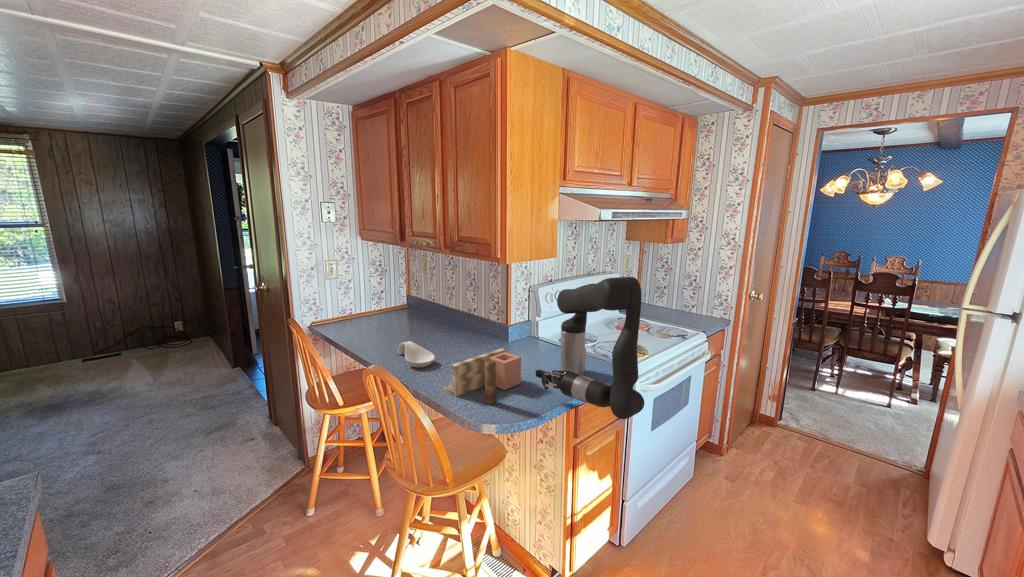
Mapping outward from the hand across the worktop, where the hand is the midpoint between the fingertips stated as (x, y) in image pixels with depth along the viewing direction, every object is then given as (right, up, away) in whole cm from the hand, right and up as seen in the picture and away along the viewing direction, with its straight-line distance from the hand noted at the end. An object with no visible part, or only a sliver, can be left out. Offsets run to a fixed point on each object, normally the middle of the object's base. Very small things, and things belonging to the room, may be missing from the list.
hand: (537, 372), depth 146 cm
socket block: (-11, -7, +12) cm, 18 cm away
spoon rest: (-50, -3, +36) cm, 62 cm away
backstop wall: (-22, -6, +13) cm, 26 cm away
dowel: (-16, -9, -3) cm, 18 cm away
